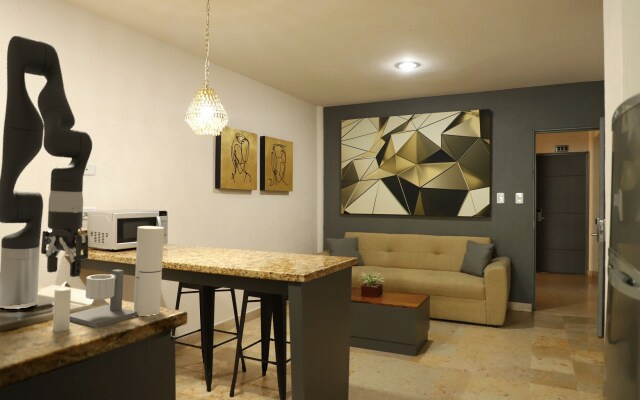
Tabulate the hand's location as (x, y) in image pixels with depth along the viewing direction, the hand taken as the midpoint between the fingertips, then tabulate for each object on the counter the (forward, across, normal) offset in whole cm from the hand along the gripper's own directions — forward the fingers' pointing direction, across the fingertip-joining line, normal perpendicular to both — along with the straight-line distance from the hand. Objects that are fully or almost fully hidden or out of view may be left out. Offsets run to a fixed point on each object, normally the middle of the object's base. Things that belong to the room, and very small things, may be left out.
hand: (63, 274), depth 112 cm
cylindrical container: (+14, +6, +22) cm, 27 cm away
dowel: (+14, 0, 0) cm, 14 cm away
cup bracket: (+14, 0, +12) cm, 18 cm away
